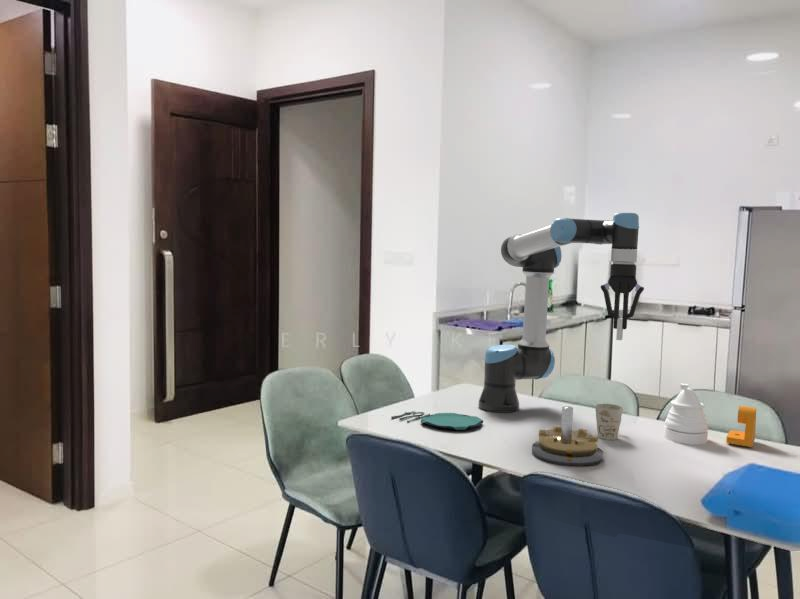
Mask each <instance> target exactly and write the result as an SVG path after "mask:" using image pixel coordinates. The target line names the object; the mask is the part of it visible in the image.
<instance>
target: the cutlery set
mask: <svg viewBox="0 0 800 599" xmlns="http://www.w3.org/2000/svg"><path fill="white" fill-rule="evenodd" d="M424 414H425V412H423V411H415V410H414V411H413V410H412V411H408V412H406V411H405V412H404V413H402V414H398V415H394V416H391V420H394V419H398V421H403V420H406V419H408V418H412V417H415V418H412V419H409V420H406V423H410V422H411V421H415V420H420V424H422V425H423V426H424V424H423V423H425V424H427V425H429V426H433V427H435V428H442V429H453V430H455V431H464V430H466V429H472V428H476V427H479V426H480V425H483V423H484V420H483V419H482V418H481V417H478V416H475V415H473V416H472V415H468V414H462V413H461V414H460V413H457V412H436V413H434V414H431V413H427V414H425V415H424Z"/></svg>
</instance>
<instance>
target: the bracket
mask: <svg viewBox="0 0 800 599" xmlns="http://www.w3.org/2000/svg"><path fill="white" fill-rule="evenodd" d="M737 410H738V411H737V423H738V424H744V425H745V428H744V429H745V430H744V431H742V430H732V429H731V430H729V431H728V433H727V435H726V440H725V441H726V442H725V443H726V444H728V443H731V444H730V445H734V444H737V445H736V446H740V445H743V446H742V447H746V446H749V447H748V448H753V447H754V445H753V444H755V440H756V424H757V423H756V422H757V420H756V419H757V408H756V407H751V406H744V405H739V406H738V409H737ZM752 446H753V447H752Z"/></svg>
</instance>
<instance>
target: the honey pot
mask: <svg viewBox="0 0 800 599" xmlns="http://www.w3.org/2000/svg"><path fill="white" fill-rule="evenodd" d="M679 386H680V389H681V391H680V392H679V393H678V395H676V398H675V399H673V400H671V402H670V405H671V408H670V409H669V411H668V414H667V417H666V419H665V420H664V431H663V437H664V438H665V439H666V440H669V441H671V442H673V441H674V442H673V443H677V442H679V443H678V444H683V443H685V445H692V444H700V445H705V444H707V443H708V433H709V430H708V428H709V425H708V423H707V419H706V414H705V412H704V408H705V404H704V403H702V402H701V401H700V398H699V396H698V395H697V392H695V390H694V389H692V388H690V387H689V386H690V385H689V383H679Z"/></svg>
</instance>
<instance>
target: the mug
mask: <svg viewBox="0 0 800 599" xmlns="http://www.w3.org/2000/svg"><path fill="white" fill-rule="evenodd" d="M594 407H595V419H596V431H597V436H598V438H599V439H603V440H607V441H608V440H609V441H611V440H613V441H614V440H617V439H618V436H619V432H620V426H621V422H622V415H623V407H622V406H621V405H618V404H617V405H616V404H611V403H598V404H595V406H594Z"/></svg>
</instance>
